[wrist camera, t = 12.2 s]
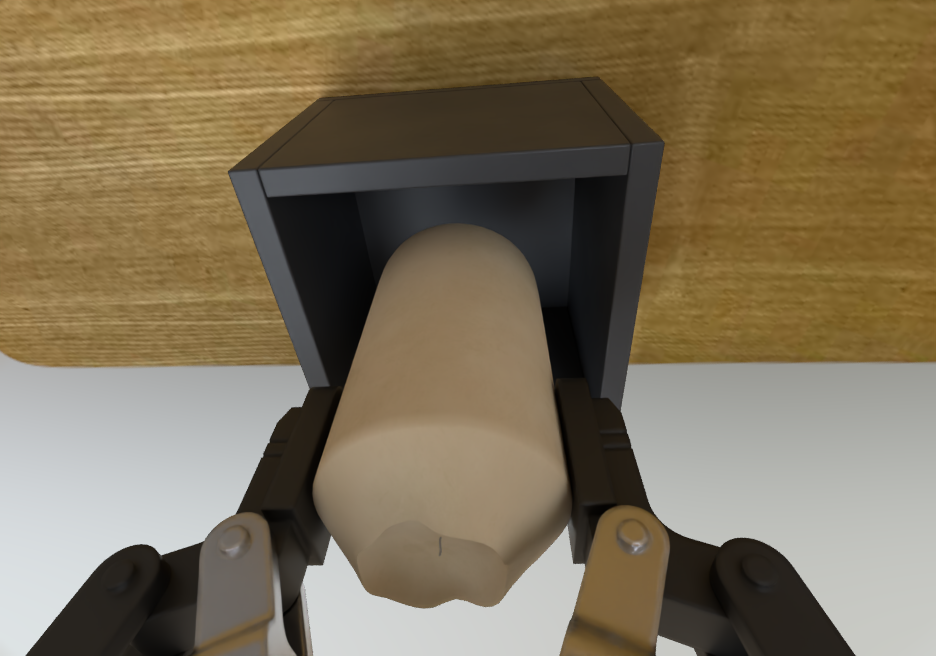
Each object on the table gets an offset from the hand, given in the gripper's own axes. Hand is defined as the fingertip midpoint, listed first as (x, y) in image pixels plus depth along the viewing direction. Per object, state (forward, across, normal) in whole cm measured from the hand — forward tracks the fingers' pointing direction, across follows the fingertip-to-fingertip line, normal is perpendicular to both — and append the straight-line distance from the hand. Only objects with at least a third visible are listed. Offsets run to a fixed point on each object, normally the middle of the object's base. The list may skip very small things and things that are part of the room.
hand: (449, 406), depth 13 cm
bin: (+12, 0, 0) cm, 12 cm away
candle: (+6, 0, 0) cm, 6 cm away
